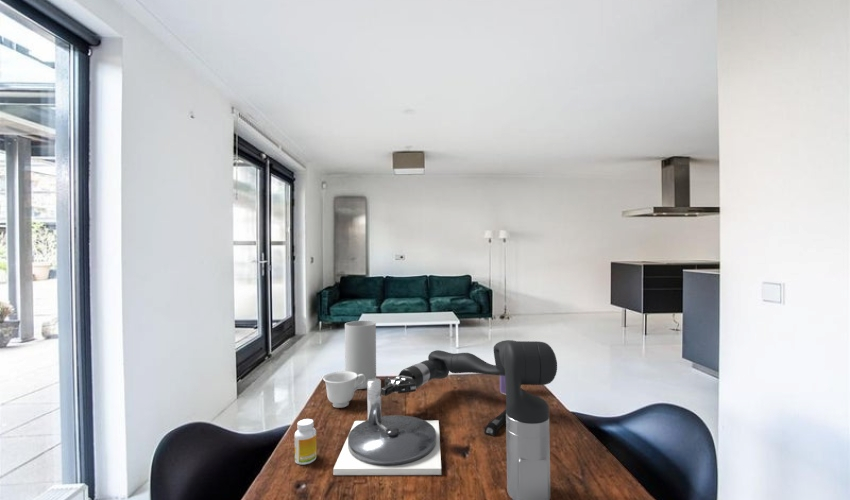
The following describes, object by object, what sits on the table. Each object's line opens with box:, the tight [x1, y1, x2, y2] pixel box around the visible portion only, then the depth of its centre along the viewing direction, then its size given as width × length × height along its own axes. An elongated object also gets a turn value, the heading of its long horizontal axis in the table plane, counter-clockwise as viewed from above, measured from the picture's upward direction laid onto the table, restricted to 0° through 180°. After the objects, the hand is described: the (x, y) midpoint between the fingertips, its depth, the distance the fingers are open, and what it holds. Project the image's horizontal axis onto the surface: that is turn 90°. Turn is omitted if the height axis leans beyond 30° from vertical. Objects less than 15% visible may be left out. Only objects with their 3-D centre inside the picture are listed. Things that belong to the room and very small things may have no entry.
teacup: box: [322, 370, 366, 409], centre depth 133 cm, size 12×15×10 cm
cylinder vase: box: [344, 320, 377, 390], centre depth 153 cm, size 12×12×25 cm
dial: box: [347, 377, 436, 466], centre depth 103 cm, size 24×24×14 cm
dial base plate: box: [332, 419, 442, 476], centre depth 103 cm, size 26×26×2 cm
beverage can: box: [499, 375, 506, 396], centre depth 142 cm, size 6×6×15 cm
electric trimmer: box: [483, 409, 506, 437], centre depth 115 cm, size 4×16×3 cm, turn 146°
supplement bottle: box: [294, 418, 317, 466], centre depth 97 cm, size 5×5×10 cm
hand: (383, 392), depth 115 cm, fingers closed
